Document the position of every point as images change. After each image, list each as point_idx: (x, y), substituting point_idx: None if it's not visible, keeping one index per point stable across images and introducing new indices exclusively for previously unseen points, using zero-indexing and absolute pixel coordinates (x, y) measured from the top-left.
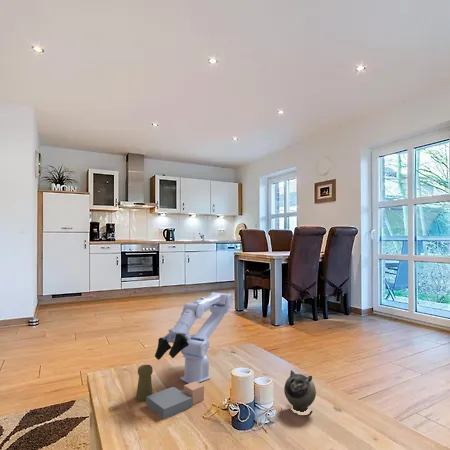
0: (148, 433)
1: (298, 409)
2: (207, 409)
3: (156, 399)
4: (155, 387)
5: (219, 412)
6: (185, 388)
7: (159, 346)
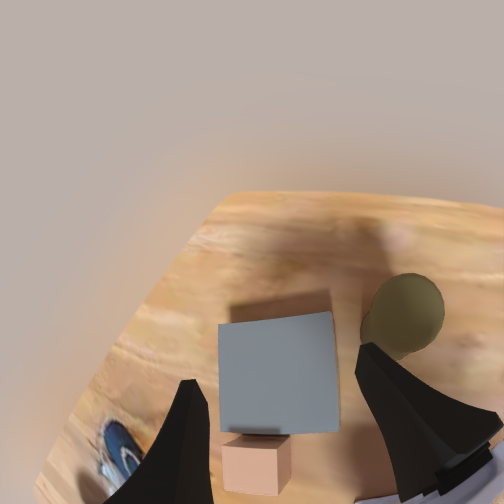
0: (205, 271)
1: None
2: None
3: (288, 333)
4: None
5: None
6: (269, 446)
7: (407, 397)
